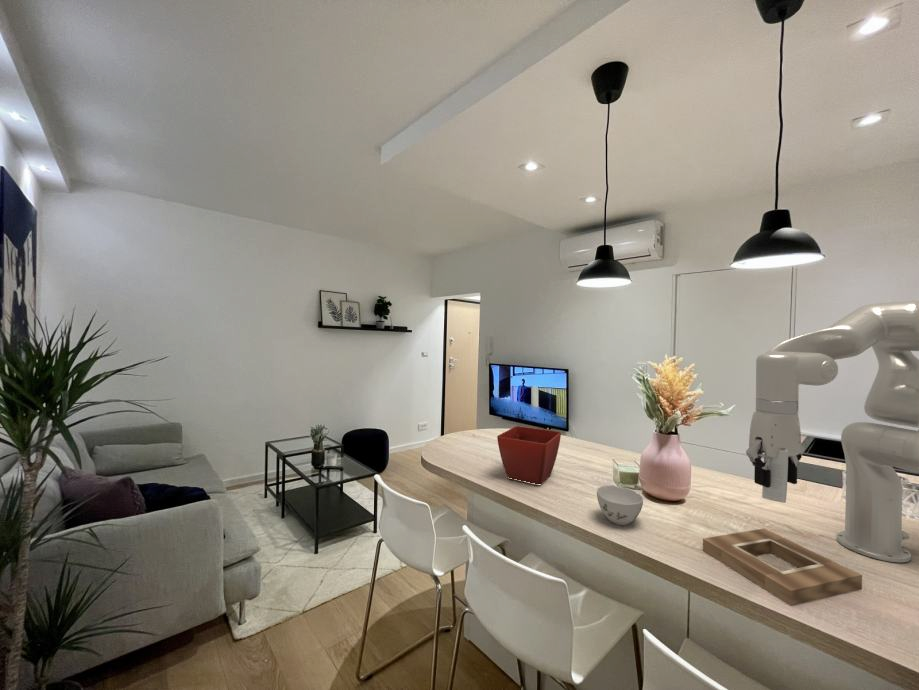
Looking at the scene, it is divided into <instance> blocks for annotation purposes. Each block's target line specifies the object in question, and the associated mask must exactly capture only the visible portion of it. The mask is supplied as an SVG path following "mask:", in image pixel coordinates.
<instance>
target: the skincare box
mask: <svg viewBox="0 0 919 690" xmlns="http://www.w3.org/2000/svg"><path fill="white" fill-rule="evenodd" d="M763 454H764V455H766V452H765V453H763ZM764 460H765V458H763V461H764ZM768 470H771V486H770V487H768V488H767V487H764V486H762V493H761V494H762V495H761V498H763V499H766V500H768V501H772V502H778V503H783V504H785V503H787V502H786V501H787V491H788V482H787V476H788V449H780V450H779V454H778V458H773V459H772V461H771V463H770V465H769V468H768Z"/></svg>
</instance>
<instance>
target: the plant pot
mask: <svg viewBox="0 0 919 690" xmlns="http://www.w3.org/2000/svg"><path fill="white" fill-rule="evenodd" d="M561 437H562V433H561V431H557V430H549V429H543V428H534V427H527V426H518V425H516V426H514V427H511V428H509V429H508V430H506V431H504V432H502V433H500V434H499V435H497V436H496V439H497V445H498V451H499V453H500V458H501V461H502V465H503V468H504V470H505V474H506V477H507V478H508V477H509V478H512V479H517V480H521V481H526V482H530V483H535V484H541V485H543V484H544V483H545V481H546V480H548V479H549V478H550V476H551V475H552V472H553V469H554V467H555V463H556V461H557V457H558V456H557V455H558V453H559V448H560V442H561Z"/></svg>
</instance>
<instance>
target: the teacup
mask: <svg viewBox="0 0 919 690" xmlns="http://www.w3.org/2000/svg"><path fill="white" fill-rule="evenodd" d="M596 497H597V503H598V505H599V508H600V509H601V512H602V513H603V515H604V516H605V517H606V518H607V520H608V521H610V522H611V523H612V522H613V523H612V524H616V525H618V526H628V525H630V523H631V522H633V521H634V520H635V519H637V518H638V516H639V515H640V513H641V511H642V509H643V504H644V497H643V496H642V494H640V493H638V492H636V491H635V490H633V489H631V488H628V487H622V486H617V485H611V484H610V485H603V486H599V487H597V489H596Z"/></svg>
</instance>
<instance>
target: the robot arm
mask: <svg viewBox="0 0 919 690" xmlns="http://www.w3.org/2000/svg"><path fill="white" fill-rule="evenodd" d="M871 347H872V350H873V352H874V354H875V357H876V359H877V363H878V370H877V373H876V375H875V377H874V380H873V382H872V385H871V388H869V389H870V390H869V391H868V395H866V399H865V402H864V406H863V407H864V413H865V414H866V415H867V416H868V417H869V418H871V419H873V420H876V421H878V422H883V423H888V424H892V425H898V426H904V428H902V427H897V426H892V425H887V424H880V423H874V422H867V421H866V422H865V421H864V422H863V421H859V422H852V423H850V424H848V425H846V426H845V427H844V428H843V429H842V431H841V436H840V440H841V445H842V446H841V447H842V450H843V453H844V454H843V455H844V461H845V512H844V513H845V521H844V526H845V527H844V528H845V529H844V531H840V532H837V533H836V540H837V541H838V543H839V544H841V545H842V546H843V547H845V548H847V549H849V550H851V551H853V552H855V553H858V554H861V555H862V556H866V557H869V558H873V559H876V560H880V561H885V562H888V563H889V562H890V563H907V562H910V561H911V560H912V554H911V552H910V551H909V550H908V549H906V548H905V547H903V546H902V541H904V540H907V539H909V538H910V535H909V534H908V532H906V531H904V530H902V529H903V528H902V525H903V523H902V522H903V521H902V520H903V483H902V480H901V478H900V477H899V475H898V473H897V472H896V470H895V469H894V468H896V469H900V470H904V471H909V472H912V473H917V474H919V358H917V356H915V355H914V354H913V353H912V352H919V300H909V301H896V302H895V301H894V302H893V301H892V302H879V303H870V304H866V305H865V304H864V305H862V306H860V307H858V308H856V309H855V310H853V311H851V312H850V313H848V314H847V315H845V316H844V317H841V319H839V320H837V321H835V322H834V323H833V324H832V325H829V326H828V327H826V328H822V329H818V330H814V331H811V332H808V333H805V334H802V335H799V336H795V337H792V338H789V339H786V340H784V341H782V342H780V343H778V344H777V345H775V346H774V347H772V348H771V349H769V350H767V351H766V352H765V353H761V354H760V355H758V356H757V357H756V360H755V361H756V362H755V411H754V412H753V414H752V417H751V422H750V427H749V437H748V448H747V449H746V451H745V454H746V455H747V457H748V458H749V461H750V462H751V464H752V466H753V467H754V484H757V485H759V486H762V487H763V486H764V487H767V488H768V487H770V486H771V470H768V468H769V465H770V463H771V461H772V459H773V458H778V454H779V450H780V449H788V476H787V483H790V484H792V485H797V484H798V467H799V466H800V461H801V459H802V456H803V454H804V452H805V451H806V447H805V446H804V445H803V444H802V435H801V434H802V432H801V423H800V418H799V386H800V385H804V386H824V385H827V384H829V383H831V382H832V381H834V380H835V379H836V377H837V376H838V374H839V366H838V363H837V362H836V361H837V360H842V359H849V358H854V357H857V356H859V355H861V354H862V353H864V352H865V351H867V350H868V349H869V348H871ZM835 360H836V361H835ZM905 427H911V428H916V429H918V430H916V429H908V428H905ZM765 452H766V455H764V454H765ZM764 458H765V460H764ZM762 459H763V460H762Z"/></svg>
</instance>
